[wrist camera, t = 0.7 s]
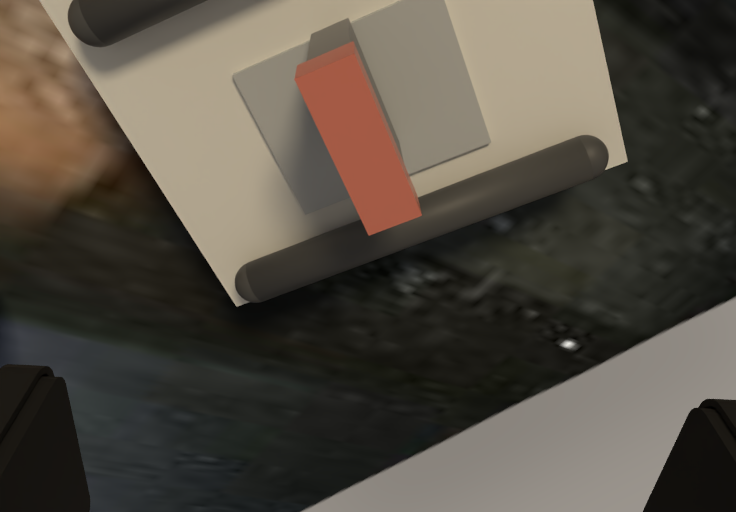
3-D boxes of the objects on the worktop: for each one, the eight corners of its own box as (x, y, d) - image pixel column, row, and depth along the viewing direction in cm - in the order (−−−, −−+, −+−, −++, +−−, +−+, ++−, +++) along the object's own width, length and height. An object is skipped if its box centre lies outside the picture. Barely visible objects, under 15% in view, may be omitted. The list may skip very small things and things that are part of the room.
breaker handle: (350, 10, 25) (354, 53, 20) (405, 144, 28) (422, 215, 23) (304, 31, 26) (294, 79, 20) (362, 161, 29) (368, 235, 23)
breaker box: (506, -230, 26) (556, -257, 20) (591, 123, 34) (645, 179, 28) (81, -22, 29) (15, 7, 23) (248, 255, 37) (230, 331, 31)
